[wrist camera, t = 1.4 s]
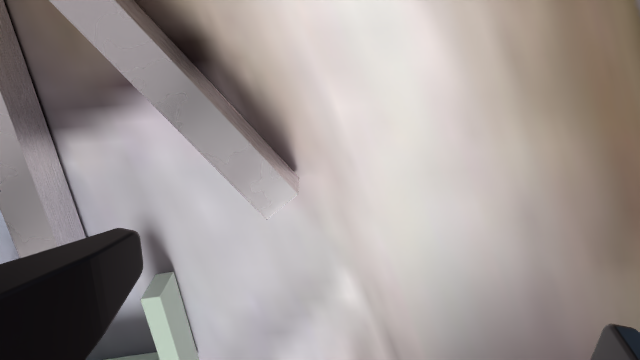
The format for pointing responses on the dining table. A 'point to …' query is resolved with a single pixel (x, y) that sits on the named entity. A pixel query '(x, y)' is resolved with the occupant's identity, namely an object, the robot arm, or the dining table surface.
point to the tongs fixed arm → (29, 160)
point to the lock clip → (166, 322)
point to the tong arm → (185, 99)
